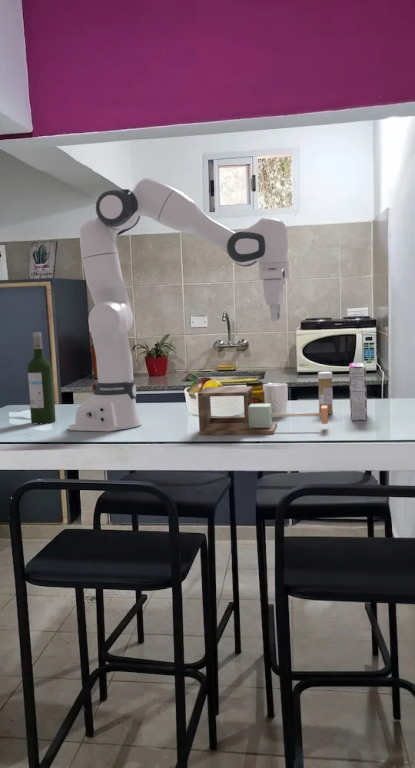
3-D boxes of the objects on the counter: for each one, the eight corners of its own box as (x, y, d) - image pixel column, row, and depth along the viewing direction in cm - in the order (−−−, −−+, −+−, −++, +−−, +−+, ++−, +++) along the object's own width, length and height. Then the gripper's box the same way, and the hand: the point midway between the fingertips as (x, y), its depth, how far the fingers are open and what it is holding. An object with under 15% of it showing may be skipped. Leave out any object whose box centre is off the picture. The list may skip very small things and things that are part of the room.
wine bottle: (58, 419, 237) (52, 331, 233) (51, 424, 229) (44, 332, 225) (36, 420, 238) (29, 332, 234) (28, 424, 230) (20, 333, 226)
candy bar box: (350, 414, 221) (349, 363, 219) (366, 414, 220) (365, 362, 218) (350, 420, 210) (349, 366, 208) (367, 420, 209) (366, 366, 207)
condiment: (249, 422, 216) (247, 383, 215) (239, 418, 224) (238, 381, 223) (271, 420, 218) (269, 381, 217) (261, 416, 226) (259, 379, 225)
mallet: (249, 427, 199) (248, 407, 199) (251, 423, 205) (250, 403, 204) (327, 426, 195) (326, 405, 195) (327, 423, 201) (327, 402, 200)
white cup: (261, 416, 224) (260, 386, 223) (266, 412, 232) (265, 383, 231) (285, 417, 222) (284, 385, 221) (290, 412, 229) (289, 382, 228)
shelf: (199, 434, 199) (197, 393, 197) (207, 426, 211) (205, 387, 210) (273, 434, 195) (271, 391, 194) (277, 425, 207) (275, 385, 206)
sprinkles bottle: (317, 412, 227) (316, 371, 225) (331, 412, 227) (330, 371, 226) (321, 415, 222) (319, 373, 221) (335, 414, 223) (334, 372, 221)
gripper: (266, 275, 219) (268, 319, 221) (259, 273, 199) (261, 321, 201) (287, 273, 218) (288, 318, 220) (282, 272, 198) (283, 320, 200)
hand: (275, 320), depth 210 cm, fingers open, 8 cm apart
